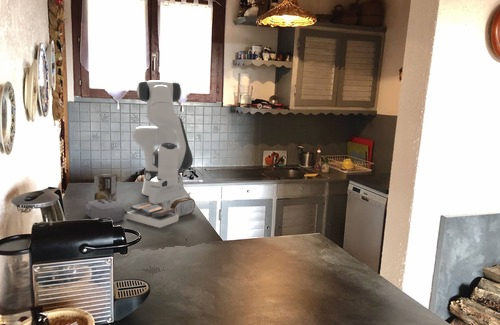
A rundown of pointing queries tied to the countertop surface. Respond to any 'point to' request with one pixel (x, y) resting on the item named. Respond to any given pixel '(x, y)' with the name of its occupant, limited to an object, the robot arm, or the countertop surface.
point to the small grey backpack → (105, 209)
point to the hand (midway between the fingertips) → (166, 209)
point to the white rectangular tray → (152, 218)
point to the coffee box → (105, 186)
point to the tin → (183, 206)
